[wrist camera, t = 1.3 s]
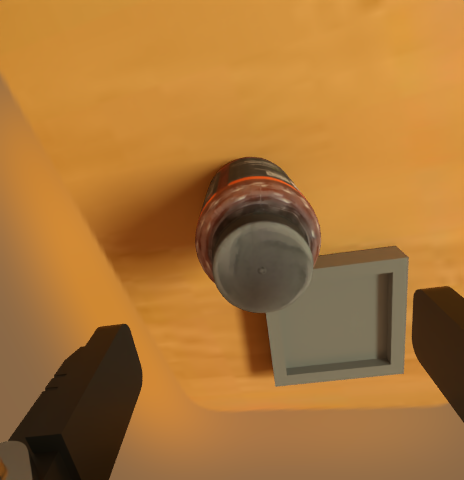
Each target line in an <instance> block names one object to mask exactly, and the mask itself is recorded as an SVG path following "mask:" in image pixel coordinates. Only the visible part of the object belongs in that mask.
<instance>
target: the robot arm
mask: <svg viewBox="0 0 464 480" xmlns="http://www.w3.org/2000/svg"><path fill="white" fill-rule="evenodd" d="M412 344H413V348H414V352H415V354H416V357H417V359H418V360H419V362H420V363H421V365H422V366H423V367H424V369H425V370H426V372H427V373H428V374H429V376H430V377H431V378H432V380H433V381H434V383H435V384H436V385H437V387H438V388H439V389H440V391H441V392H442V393H443V395H444V396H445V398H446V399H447V400H448V402H449V403H450V404H451V406H452V407H453V408H454V410H455V411H456V413H457V414H458V415H459V417H460V418H461V419H462V421H463V422H464V298H463V297H462V296H460V295H459V294H458V293H457V292H456V291H454V290H453V289H452V288H450V287H448V286H444V287H435V288H427V289H419V290H416V291H415V293H414V298H413V321H412ZM141 387H142V369H141V364H140V361H139V357H138V354H137V351H136V348H135V344H134V341H133V338H132V335H131V331H130V328H129V327H128V325H126V324H120V325H111V326H103V327H98V328H97V329H96V331H95V332H94V334H93V335H92V337H91V338H90V340H89V341H88V343H87V344H86V346H84V347H80V348H79V349H78V350H77V351H75V352H74V353H73V354H72V355H71V356H69V357H68V358H67V359H66V360H65V361H64V362H63V364H62V366H61V367H60V368H59V369H58V371H57V372H56V374H55V375H54V378H53V379H51V381H50V382H49V383H48V385H47V386H46V388H45V391H43V392H42V394H41V395H40V396H39V398H38V399H37V400H36V402H35V403H34V405H33V406H32V407H31V409H30V411H29V412H28V413H27V415H26V416H25V417H24V419H23V420H22V422H21V423H20V425H19V426H18V427H17V429H16V430H15V432H14V433H13V434H12V436H11V437H10V439H9V440H8V441H6V442H3V443H0V480H109V478H110V475H111V472H112V469H113V466H114V464H115V460H116V458H117V455H118V453H119V450H120V447H121V444H122V441H123V438H124V436H125V433H126V430H127V427H128V424H129V422H130V419H131V416H132V413H133V410H134V407H135V404H136V402H137V399H138V396H139V394H140V390H141Z"/></svg>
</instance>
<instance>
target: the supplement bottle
mask: <svg viewBox="0 0 464 480" xmlns="http://www.w3.org/2000/svg"><path fill="white" fill-rule="evenodd" d="M195 243H196V251H197V256H198V258H199V262H200V263H201V266H202V267H203V270H204V271H205V273H206V274H207V275H208V277H209V278H210V279H211V280H212V281H213V282H214V283H215V284H216V286H217V288H218V290H219V292H220V293H221V294H222V296H223V297H224V298H225V299H226V300H227V301H228V302H229V303H231V304H232V305H234V306H236V307H238V308H240V309H242V310H245V311H249V312H254V313H269V312H274V311H278V310H281V309H284V308H286V307H288V306H290V305H291V304H293V303H294V302H295V301H296V300H298V299H299V298H300V297H301V296H302V295H303V294H304V292H305V291H306V289H307V288H308V286H309V285H310V282H311V279H312V275H313V268H314V265H315V263H316V260H317V258H318V255H319V251H320V247H321V232H320V225H319V223H318V219H317V217H316V215H315V212H314V210H313V208H312V207H311V205H310V204H309V202H308V201H307V200H306V198H305V197H304V196H303V194H302V193H301V192H300V191H299V189H298V188H297V187H296V186H295V184H294V183H293V182H292V181H291V179H290V178H289V177H288V176H287V175H286V173H285V172H284V171H283V170H282V169H281V168H280V167H278V166H277V165H276V164H274V163H272V162H270V161H268V160H266V159H263V158H257V157H244V158H240V159H237V160H234V161H232V162H230V163H228V164H227V165H225V166H224V167H223V168H222V169H220V170H219V171H218V173H217V174H216V175H215V177H214V178H213V180H212V181H211V184H210V186H209V188H208V191H207V195H206V198H205V201H204V204H203V207H202V210H201V213H200V217H199V220H198V224H197V229H196V238H195Z"/></svg>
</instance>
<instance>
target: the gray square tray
mask: <svg viewBox="0 0 464 480" xmlns="http://www.w3.org/2000/svg"><path fill="white" fill-rule="evenodd" d="M408 259H409V257H408V256H407V255H405V254H404V253H403V252H402V251H401V250H400V249H399V248H397V247H396V246H392V247H384V248H376V249H368V250H360V251H353V252H345V253H337V254H329V255H321V256H318V258H317V260H316V263H315V265H314V268H313V275H312V279H311V282H310V285H309V286H308V288H307V289H306V291H305V292H304V294H303V295H302V296H301V297H300V298H299V299H298V300H296V301H295V302H294V303H293V304H291V305H290V306H288V307H286V308H284V309H281V310H278V311H274V312H269V313H266V319H267V326H268V334H269V341H270V349H271V356H272V364H273V371H274V379H275V386H286V385H296V384H306V383H315V382H325V381H335V380H345V379H355V378H365V377H374V376H384V375H394V374H404V355H405V331H406V307H407V283H408Z"/></svg>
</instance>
